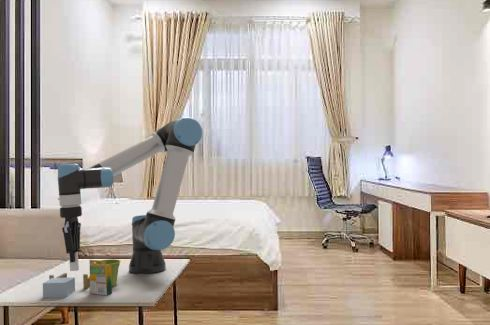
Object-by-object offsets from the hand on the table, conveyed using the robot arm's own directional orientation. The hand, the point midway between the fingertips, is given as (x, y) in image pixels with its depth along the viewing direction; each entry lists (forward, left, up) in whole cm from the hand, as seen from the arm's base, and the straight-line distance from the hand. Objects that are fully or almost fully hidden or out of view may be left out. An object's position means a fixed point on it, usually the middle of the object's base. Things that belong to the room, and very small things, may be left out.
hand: (74, 270), depth 180 cm
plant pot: (-12, 0, -6) cm, 14 cm away
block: (+1, +11, -6) cm, 13 cm away
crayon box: (-13, +12, -6) cm, 19 cm away
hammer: (+1, -3, -6) cm, 6 cm away
